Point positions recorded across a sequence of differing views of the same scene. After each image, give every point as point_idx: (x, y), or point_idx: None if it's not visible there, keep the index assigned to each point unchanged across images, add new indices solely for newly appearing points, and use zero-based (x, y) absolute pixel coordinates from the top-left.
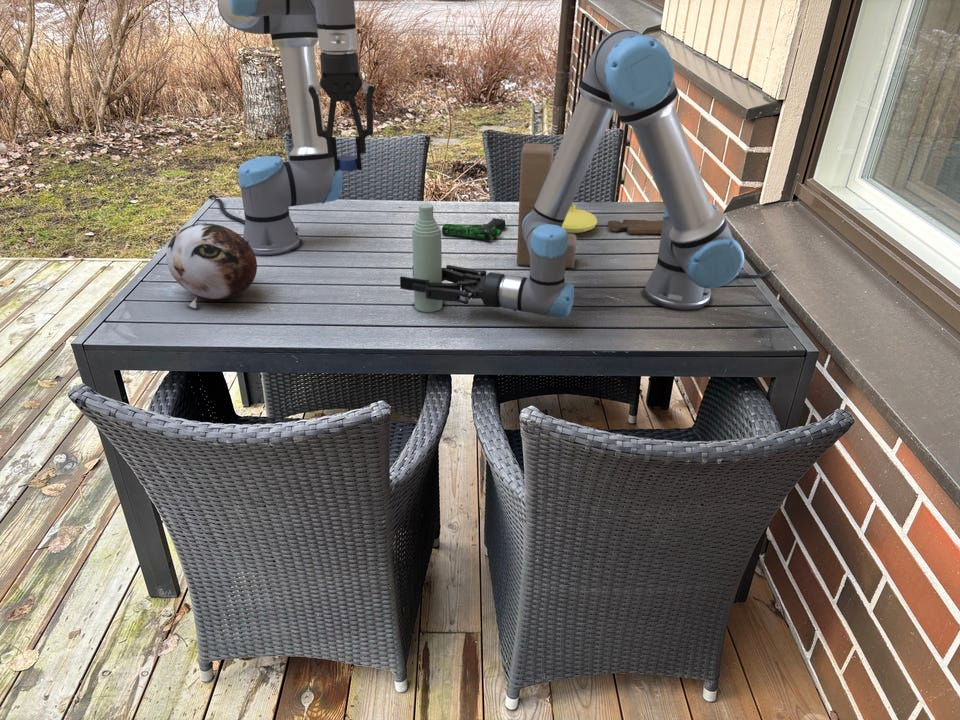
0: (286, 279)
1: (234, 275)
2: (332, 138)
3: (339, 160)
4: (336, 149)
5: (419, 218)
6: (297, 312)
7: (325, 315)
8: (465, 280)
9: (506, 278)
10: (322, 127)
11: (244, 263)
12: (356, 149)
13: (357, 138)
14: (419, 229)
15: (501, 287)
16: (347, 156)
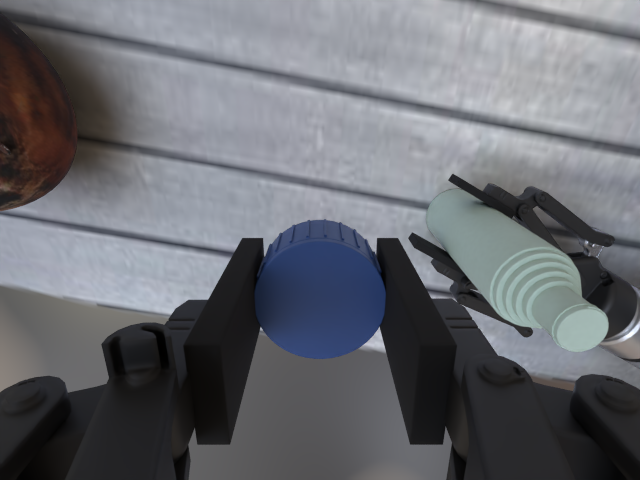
0: (148, 17)
1: (32, 201)
2: (193, 393)
3: (268, 334)
4: (243, 384)
5: (533, 311)
6: (199, 201)
7: (254, 222)
8: None
9: (629, 340)
10: (30, 460)
11: (37, 184)
12: (395, 306)
13: (428, 418)
14: (512, 318)
15: (603, 342)
16: (322, 268)
